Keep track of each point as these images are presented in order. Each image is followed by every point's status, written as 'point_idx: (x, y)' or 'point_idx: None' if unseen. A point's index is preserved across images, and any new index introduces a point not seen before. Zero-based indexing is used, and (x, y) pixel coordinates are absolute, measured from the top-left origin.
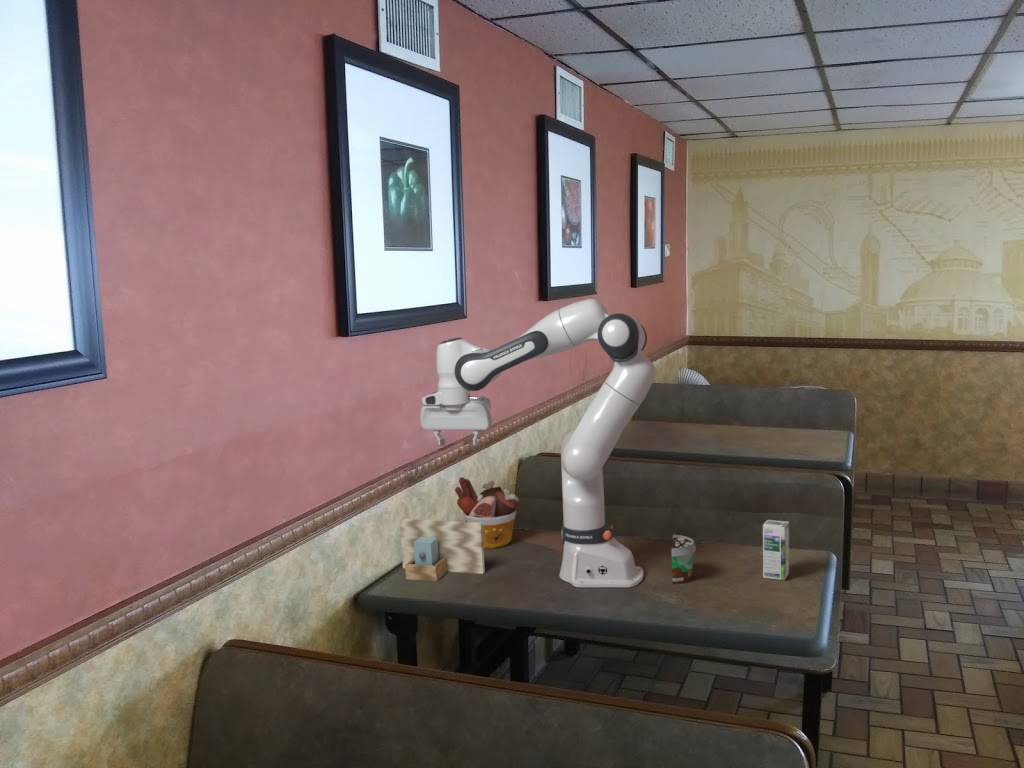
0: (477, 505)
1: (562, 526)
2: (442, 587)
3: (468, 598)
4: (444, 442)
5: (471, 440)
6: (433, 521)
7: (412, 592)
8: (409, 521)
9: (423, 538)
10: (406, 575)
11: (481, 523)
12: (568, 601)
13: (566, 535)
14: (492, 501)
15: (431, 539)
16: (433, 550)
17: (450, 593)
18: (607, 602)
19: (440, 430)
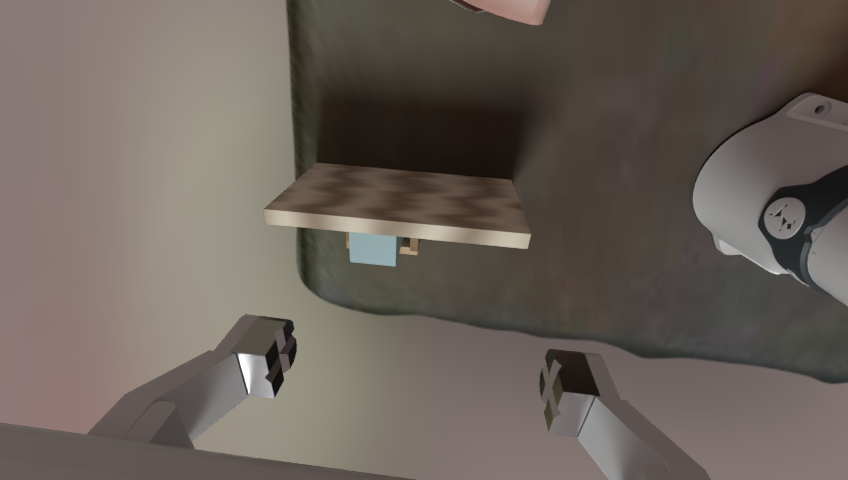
0: (470, 3)
1: (801, 256)
2: (442, 265)
3: (503, 306)
4: (282, 345)
5: (563, 428)
6: (372, 229)
7: (395, 289)
8: (297, 225)
9: (361, 234)
10: None
11: (529, 239)
12: (690, 308)
13: (790, 271)
14: (546, 7)
15: (386, 240)
16: (399, 242)
17: (465, 289)
18: (766, 308)
19: (166, 439)
